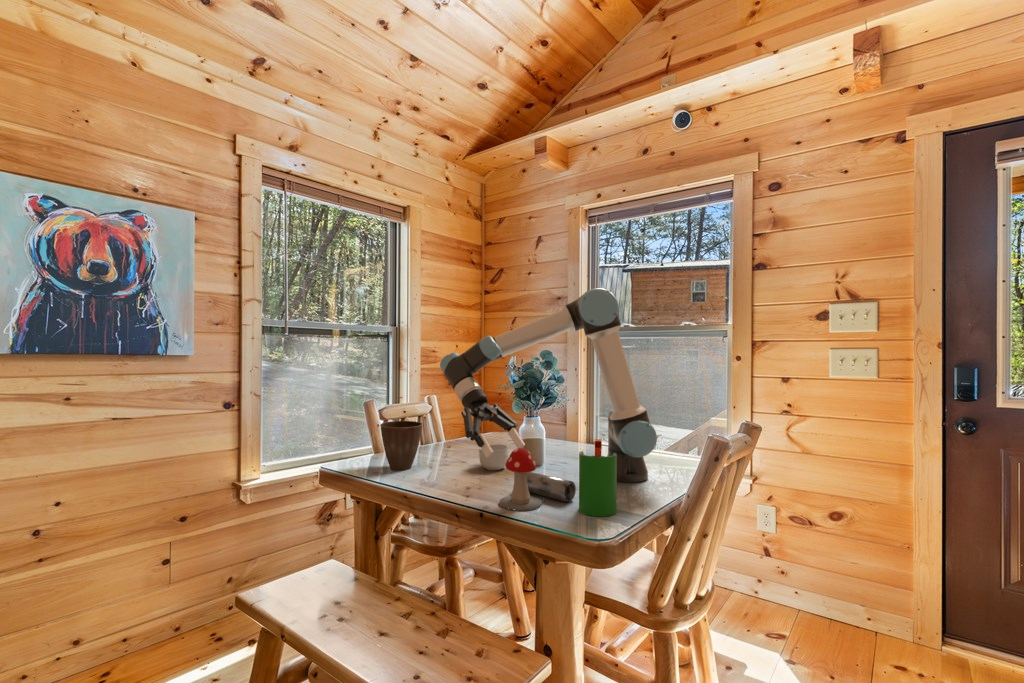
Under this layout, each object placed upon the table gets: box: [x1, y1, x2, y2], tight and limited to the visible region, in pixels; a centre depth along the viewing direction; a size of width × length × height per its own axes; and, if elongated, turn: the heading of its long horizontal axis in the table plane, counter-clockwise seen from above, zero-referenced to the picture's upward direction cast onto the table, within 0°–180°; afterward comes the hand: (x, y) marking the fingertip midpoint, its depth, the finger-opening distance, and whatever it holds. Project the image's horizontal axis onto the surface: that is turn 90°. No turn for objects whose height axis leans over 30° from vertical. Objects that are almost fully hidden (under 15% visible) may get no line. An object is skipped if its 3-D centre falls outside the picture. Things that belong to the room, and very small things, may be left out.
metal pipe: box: [527, 471, 577, 503], centre depth 156 cm, size 6×18×6 cm, turn 47°
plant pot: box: [380, 420, 423, 471], centre depth 189 cm, size 15×15×16 cm
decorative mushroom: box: [504, 447, 537, 504], centre depth 148 cm, size 10×9×15 cm
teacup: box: [478, 443, 509, 471], centre depth 191 cm, size 14×11×8 cm
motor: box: [578, 438, 618, 517], centre depth 142 cm, size 10×9×20 cm
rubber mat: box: [499, 495, 543, 511], centre depth 148 cm, size 12×12×1 cm
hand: (506, 451), depth 151 cm, fingers open, 13 cm apart
